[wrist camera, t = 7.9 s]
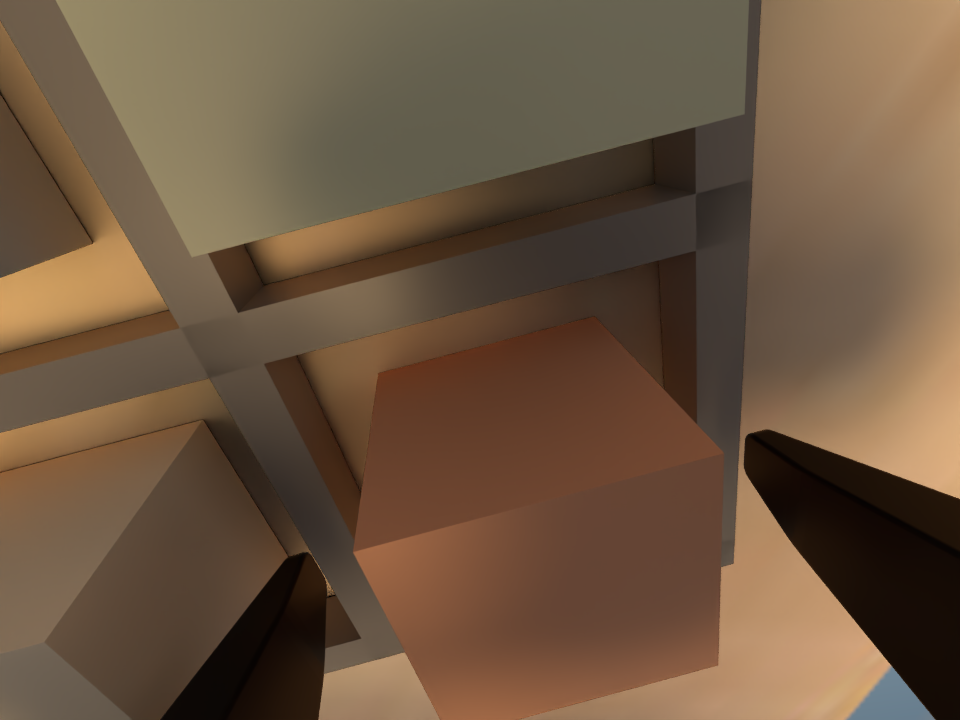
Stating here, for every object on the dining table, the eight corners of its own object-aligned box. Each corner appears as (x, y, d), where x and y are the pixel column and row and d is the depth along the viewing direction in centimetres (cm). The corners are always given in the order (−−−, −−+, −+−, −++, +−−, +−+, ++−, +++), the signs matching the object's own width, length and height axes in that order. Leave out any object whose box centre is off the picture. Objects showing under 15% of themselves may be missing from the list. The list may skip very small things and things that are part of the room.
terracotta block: (612, 478, 13) (718, 665, 8) (437, 525, 13) (450, 738, 8) (592, 314, 11) (723, 453, 6) (378, 371, 10) (353, 551, 6)
